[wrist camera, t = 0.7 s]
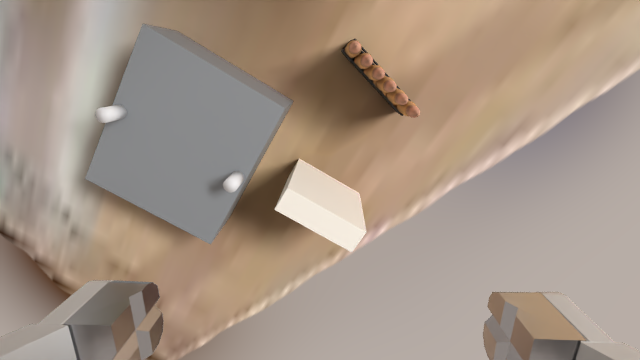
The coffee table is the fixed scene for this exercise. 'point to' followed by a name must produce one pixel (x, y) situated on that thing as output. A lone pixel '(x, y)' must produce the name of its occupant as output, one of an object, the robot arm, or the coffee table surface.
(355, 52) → the ammunition clip
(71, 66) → the coffee table surface
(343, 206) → the door panel
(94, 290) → the robot arm
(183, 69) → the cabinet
